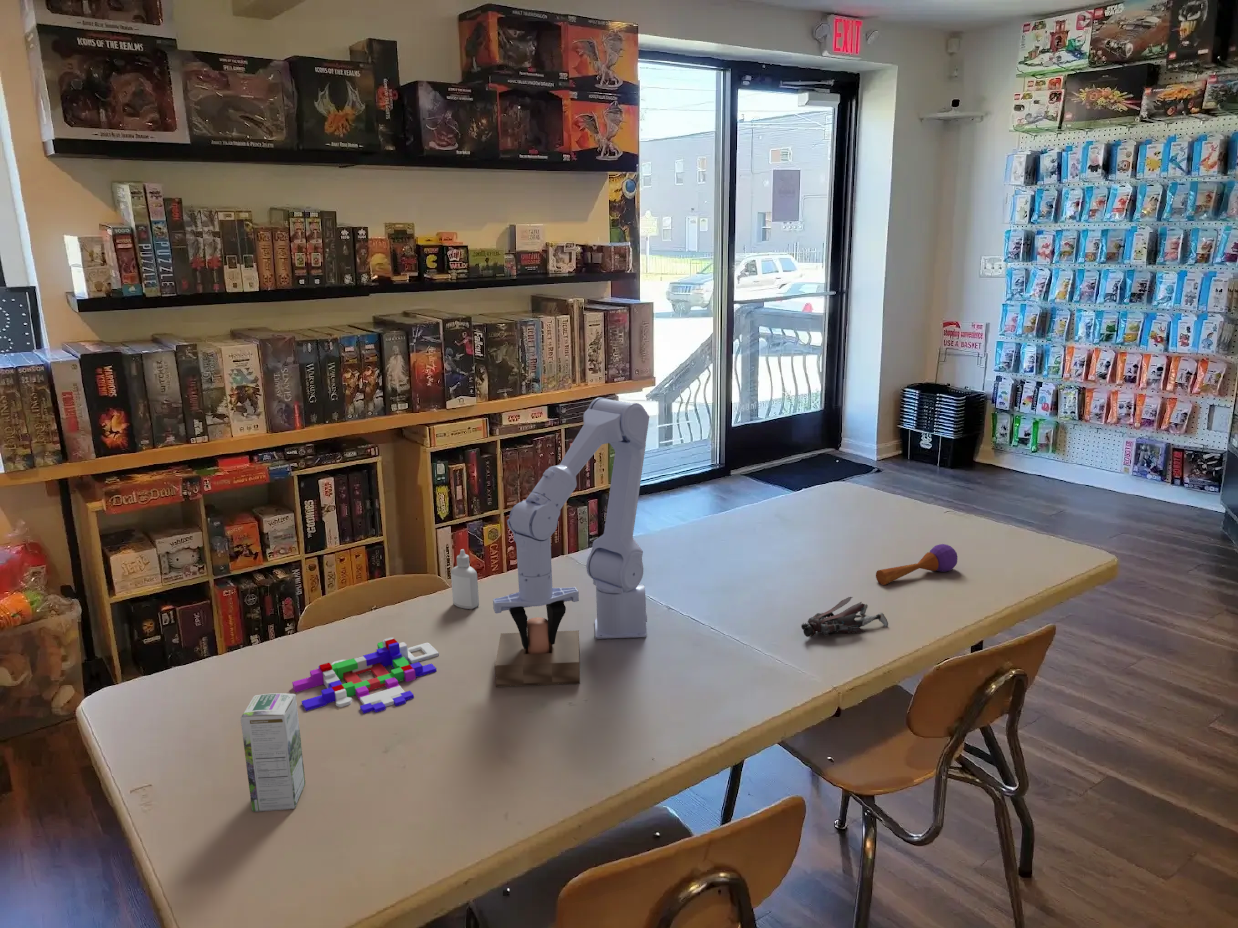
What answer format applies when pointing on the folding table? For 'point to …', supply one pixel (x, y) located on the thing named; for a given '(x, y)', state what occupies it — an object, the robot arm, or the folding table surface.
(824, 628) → the action figure
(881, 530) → the folding table surface
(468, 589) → the eye dropper bottle
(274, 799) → the syrup box
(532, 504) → the robot arm
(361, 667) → the building block set
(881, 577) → the purple and brown maraca
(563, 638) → the socket block
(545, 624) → the pin
